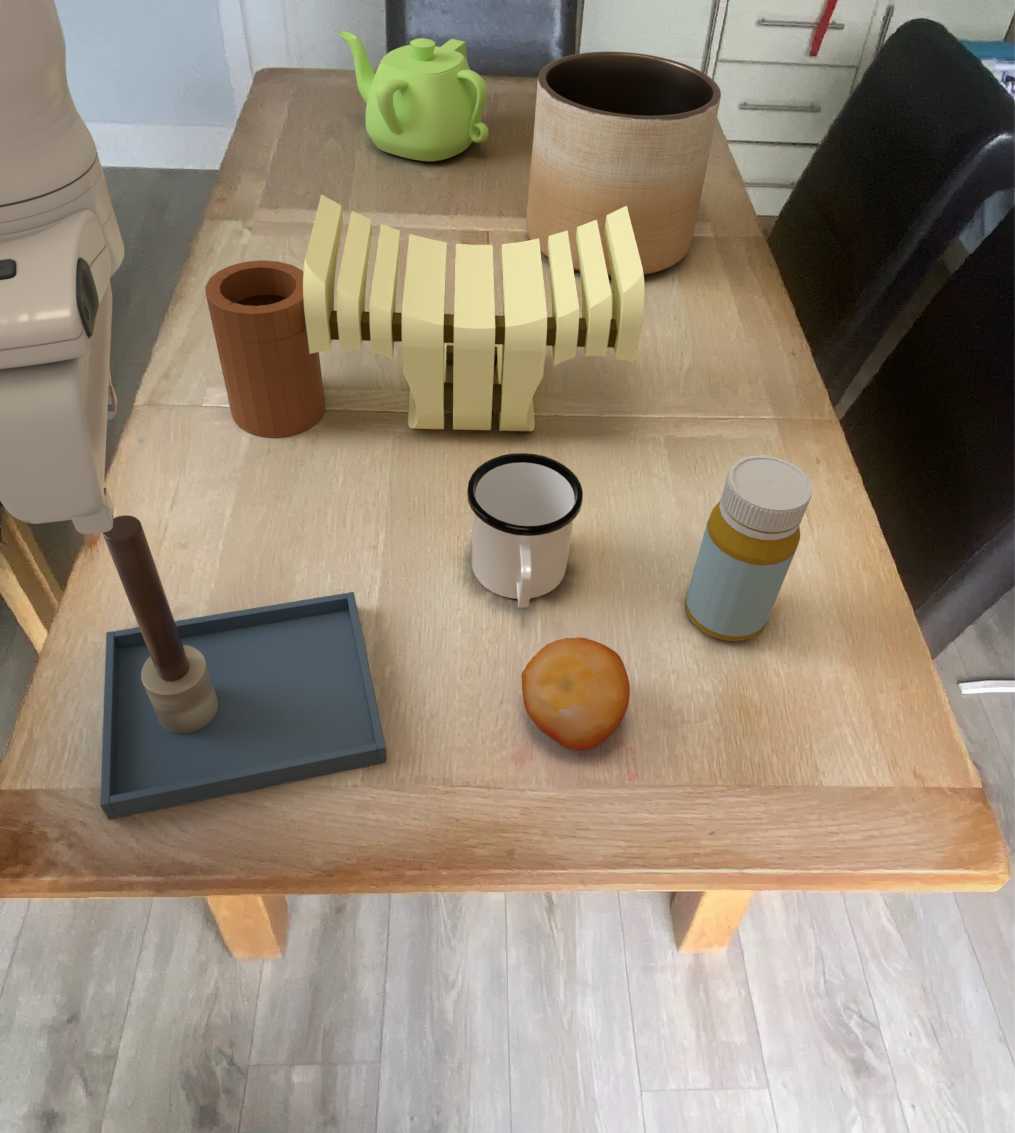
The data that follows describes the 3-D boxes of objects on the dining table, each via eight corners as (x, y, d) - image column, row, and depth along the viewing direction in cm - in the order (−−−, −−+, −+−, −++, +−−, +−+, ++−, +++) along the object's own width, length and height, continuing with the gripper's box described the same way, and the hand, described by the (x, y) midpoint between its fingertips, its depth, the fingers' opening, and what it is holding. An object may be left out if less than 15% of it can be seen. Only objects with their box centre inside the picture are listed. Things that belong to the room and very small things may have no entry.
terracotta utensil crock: (235, 443, 89) (207, 318, 79) (229, 387, 95) (203, 264, 85) (330, 431, 91) (316, 307, 81) (319, 377, 97) (304, 256, 87)
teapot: (499, 163, 137) (503, 59, 126) (368, 174, 132) (361, 67, 121) (465, 115, 149) (466, 17, 138) (344, 124, 144) (336, 22, 133)
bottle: (667, 613, 77) (704, 480, 66) (713, 571, 81) (755, 439, 70) (736, 659, 74) (786, 529, 63) (780, 613, 78) (835, 482, 67)
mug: (465, 526, 83) (467, 450, 76) (568, 529, 83) (578, 453, 77) (464, 628, 75) (466, 553, 68) (578, 630, 75) (591, 555, 69)
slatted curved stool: (321, 441, 90) (299, 278, 77) (337, 350, 101) (321, 194, 88) (619, 448, 92) (647, 289, 79) (603, 358, 103) (626, 205, 90)
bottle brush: (157, 739, 66) (80, 559, 52) (157, 690, 68) (83, 508, 55) (220, 727, 67) (160, 547, 53) (217, 680, 69) (159, 497, 56)
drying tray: (108, 819, 62) (99, 805, 60) (113, 647, 72) (106, 631, 70) (386, 762, 66) (385, 747, 64) (355, 607, 76) (353, 591, 74)
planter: (652, 199, 131) (678, 46, 116) (716, 276, 117) (755, 113, 102) (506, 210, 126) (514, 53, 111) (554, 292, 112) (570, 124, 97)
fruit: (662, 689, 70) (645, 667, 62) (602, 774, 69) (578, 761, 62) (580, 633, 73) (555, 606, 66) (522, 713, 72) (491, 694, 65)
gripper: (-36, 137, 46) (52, 365, 56) (-110, 366, 33) (23, 610, 43) (95, 130, 47) (158, 354, 58) (75, 346, 34) (161, 588, 44)
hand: (100, 466), depth 50 cm, fingers open, 8 cm apart
